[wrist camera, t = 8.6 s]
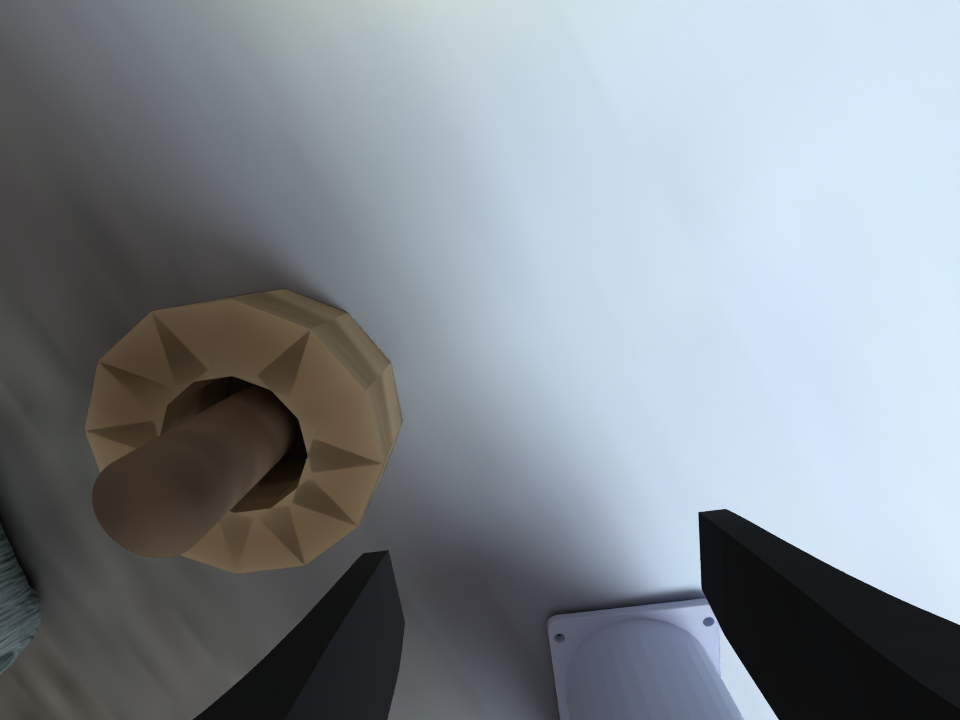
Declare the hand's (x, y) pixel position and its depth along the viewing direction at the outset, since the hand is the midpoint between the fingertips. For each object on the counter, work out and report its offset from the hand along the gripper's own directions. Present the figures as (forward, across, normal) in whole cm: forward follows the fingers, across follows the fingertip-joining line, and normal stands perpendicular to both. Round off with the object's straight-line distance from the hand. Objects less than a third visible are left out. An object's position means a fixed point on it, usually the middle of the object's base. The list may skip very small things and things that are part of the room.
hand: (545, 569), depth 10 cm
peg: (+9, +10, -2) cm, 14 cm away
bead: (+9, +10, -2) cm, 14 cm away
